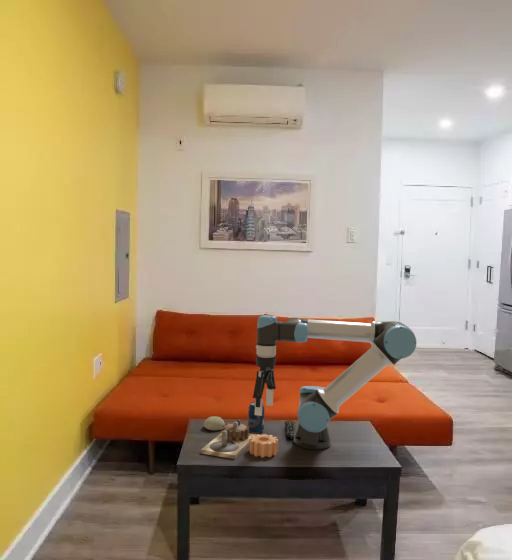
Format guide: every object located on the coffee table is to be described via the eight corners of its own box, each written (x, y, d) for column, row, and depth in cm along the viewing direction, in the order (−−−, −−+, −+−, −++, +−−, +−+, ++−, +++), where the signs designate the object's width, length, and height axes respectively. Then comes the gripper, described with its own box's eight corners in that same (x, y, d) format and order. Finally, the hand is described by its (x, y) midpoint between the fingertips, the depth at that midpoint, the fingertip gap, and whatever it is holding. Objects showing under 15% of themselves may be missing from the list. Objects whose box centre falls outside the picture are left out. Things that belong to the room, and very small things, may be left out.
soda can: (245, 432, 213) (246, 404, 213) (251, 427, 220) (251, 400, 219) (260, 434, 211) (261, 406, 210) (265, 429, 217) (266, 402, 217)
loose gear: (281, 448, 195) (281, 436, 195) (272, 459, 185) (273, 446, 185) (254, 444, 199) (255, 432, 199) (245, 454, 188) (245, 441, 188)
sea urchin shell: (226, 420, 222) (225, 411, 216) (224, 437, 217) (222, 428, 211) (206, 419, 223) (204, 410, 217) (203, 435, 218) (201, 427, 212)
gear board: (256, 437, 207) (256, 420, 206) (235, 459, 184) (235, 439, 184) (225, 433, 211) (225, 415, 211) (200, 453, 188) (201, 434, 188)
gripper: (266, 349, 203) (264, 400, 204) (245, 360, 180) (243, 418, 181) (284, 351, 201) (282, 402, 202) (265, 362, 177) (263, 421, 178)
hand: (264, 410), depth 191 cm, fingers open, 13 cm apart
